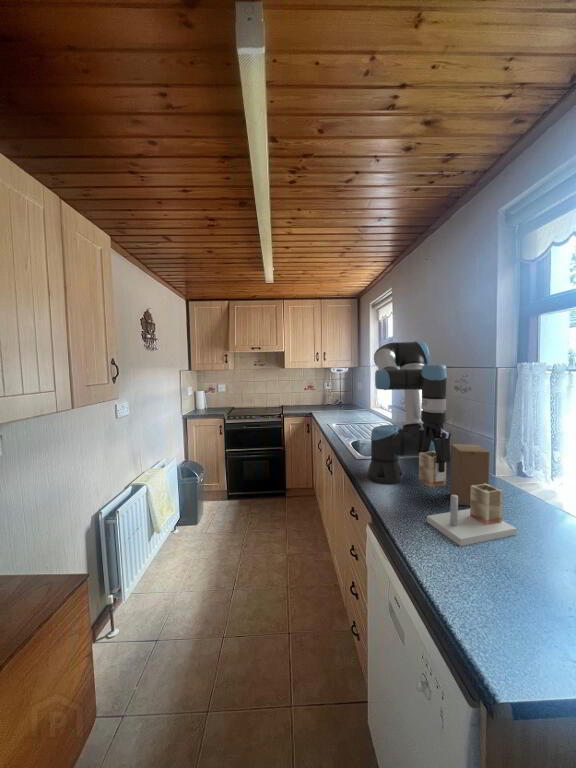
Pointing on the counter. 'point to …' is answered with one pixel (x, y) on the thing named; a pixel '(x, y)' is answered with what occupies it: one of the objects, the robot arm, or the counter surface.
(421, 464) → the sleeve
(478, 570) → the counter surface
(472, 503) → the sleeve seated
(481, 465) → the wooden block
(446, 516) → the pin board
